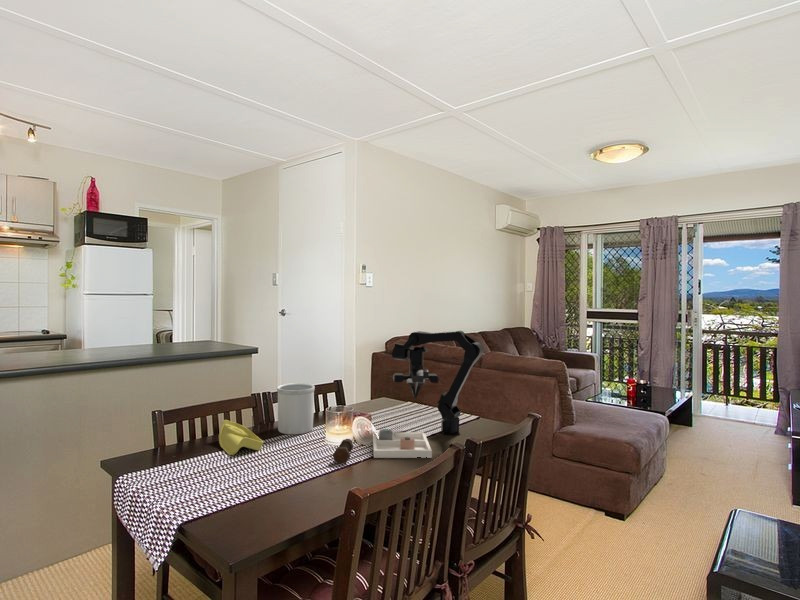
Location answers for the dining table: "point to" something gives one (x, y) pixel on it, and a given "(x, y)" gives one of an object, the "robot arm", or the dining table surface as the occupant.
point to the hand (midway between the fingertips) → (415, 398)
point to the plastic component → (237, 438)
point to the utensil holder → (295, 408)
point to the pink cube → (407, 443)
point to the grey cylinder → (385, 434)
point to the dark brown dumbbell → (343, 451)
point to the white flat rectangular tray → (393, 446)
